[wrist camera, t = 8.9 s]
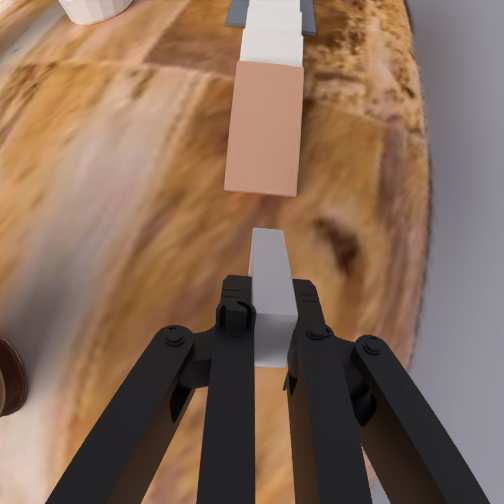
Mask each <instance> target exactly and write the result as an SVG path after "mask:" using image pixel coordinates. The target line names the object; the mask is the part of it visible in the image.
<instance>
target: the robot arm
mask: <svg viewBox="0 0 504 504" xmlns="http://www.w3.org/2000/svg"><path fill="white" fill-rule="evenodd" d="M287 361H288V372H287V375H286V379H285V383H284V386H283V390H284V391H286V387H287V396H288V408H289V421H290V434H291V447H292V461H293V475H294V490H295V504H372V498H371V493H370V488H369V482H368V477H367V472H366V467H365V462H364V457H363V452H362V447H363V449H364V451H365V453H366V455H367V457H368V459H369V461H370V463H371V465H372V467H373V469H374V471H375V473H376V475H377V477H378V479H379V481H380V483H381V485H382V487H383V489H384V491H385V492H386V495H387V497H388V499H389V501H390V503H391V504H490V502H489V501H488V499H487V497H486V495H485V494H484V492H483V490H482V488H481V487H480V485H479V483H478V482H477V480H476V478H475V477H474V475H473V473H472V472H471V470H470V468H469V467H468V465H467V464H466V462H465V460H464V459H463V457H462V455H461V454H460V452H459V451H458V449H457V447H456V446H455V444H454V443H453V441H452V439H451V438H450V436H449V435H448V433H447V432H446V430H445V429H444V427H443V426H442V424H441V423H440V421H439V419H438V418H437V416H436V415H435V413H434V412H433V410H432V409H431V407H430V406H429V404H428V403H427V401H426V400H425V398H424V397H423V395H422V394H421V392H420V391H419V389H418V388H417V386H416V385H415V384H414V382H413V381H412V379H411V378H410V376H409V375H408V373H407V372H406V371H405V369H404V368H403V366H402V365H401V363H400V362H399V361H398V359H397V358H396V356H395V355H394V353H393V352H392V351H391V349H390V348H389V346H388V345H387V344H386V343H385V342H384V341H383V340H382V339H380V338H378V337H376V336H372V335H363V336H361V337H359V338H358V339H357V340H356V342H351V341H347V340H343V339H341V338H338V337H336V336H335V335H334V333H333V331H332V329H331V328H330V327H329V326H327V325H326V324H325V320H324V316H323V312H322V309H321V305H320V303H319V297H318V294H317V290H316V287H315V286H314V285H313V284H312V282H311V281H310V280H302V279H292V277H291V272H290V266H289V260H288V255H287V250H286V244H285V239H284V234H283V230H276V229H265V228H253V235H252V245H251V254H250V264H249V276H238V275H228V276H227V277H226V278H225V280H224V281H223V285H222V292H221V300H220V304H218V306H217V309H216V325H215V326H214V327H213V328H211V329H210V330H207V331H205V332H201V333H194V334H193V333H192V332H191V331H190V330H189V329H188V328H186V327H183V326H179V325H171V326H166V327H164V328H162V329H160V330H159V331H158V332H157V333H156V335H155V336H154V338H153V339H152V341H151V342H150V343H149V345H148V346H147V348H146V349H145V351H144V352H143V354H142V355H141V357H140V358H139V359H138V361H137V362H136V364H135V365H134V367H133V368H132V370H131V371H130V373H129V374H128V376H127V377H126V379H125V380H124V382H123V383H122V384H121V386H120V387H119V389H118V390H117V392H116V393H115V395H114V396H113V398H112V399H111V401H110V402H109V404H108V405H107V407H106V408H105V410H104V411H103V413H102V415H101V416H100V418H99V419H98V421H97V422H96V424H95V425H94V427H93V428H92V430H91V431H90V433H89V434H88V436H87V437H86V439H85V441H84V442H83V444H82V445H81V447H80V448H79V450H78V451H77V453H76V455H75V456H74V458H73V459H72V461H71V463H70V464H69V466H68V467H67V469H66V470H65V472H64V474H63V475H62V477H61V478H60V480H59V482H58V483H57V485H56V486H55V488H54V490H53V491H52V493H51V495H50V496H49V498H48V500H47V501H46V503H45V504H141V502H142V500H143V498H144V496H145V494H146V492H147V490H148V487H149V485H150V483H151V481H152V479H153V477H154V475H155V473H156V471H157V469H158V467H159V465H160V463H161V461H162V459H163V457H164V455H165V452H166V450H167V448H168V446H169V444H170V442H171V440H172V438H173V436H174V434H175V432H176V430H177V428H178V426H179V424H180V421H181V419H182V417H183V415H184V413H185V411H186V409H187V407H188V405H189V403H190V401H191V399H192V396H193V394H194V392H195V390H196V388H200V387H206V386H208V395H207V404H206V413H205V422H204V431H203V440H202V450H201V460H200V470H199V481H198V491H197V502H196V504H255V373H254V367H274V368H285V367H286V363H287ZM361 445H362V447H361Z"/></svg>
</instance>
